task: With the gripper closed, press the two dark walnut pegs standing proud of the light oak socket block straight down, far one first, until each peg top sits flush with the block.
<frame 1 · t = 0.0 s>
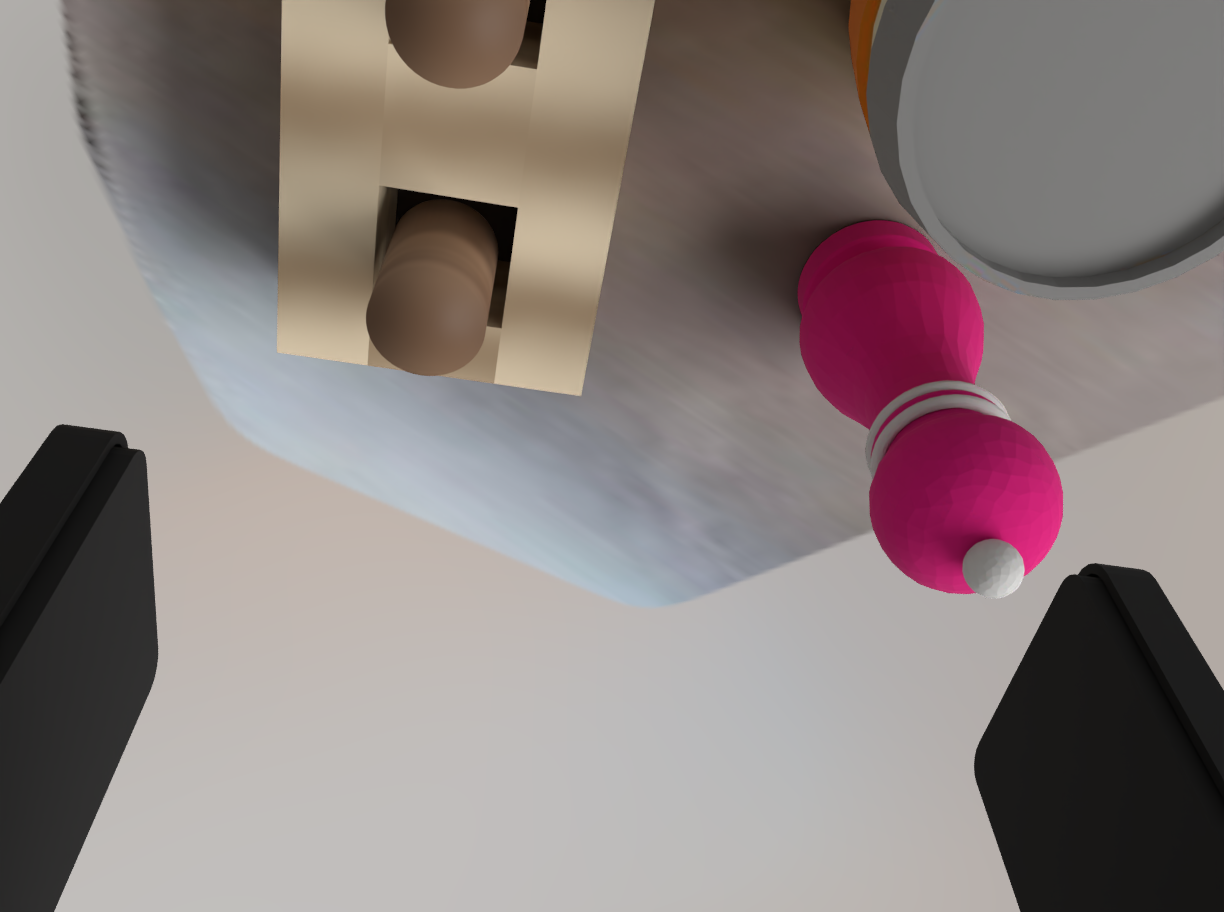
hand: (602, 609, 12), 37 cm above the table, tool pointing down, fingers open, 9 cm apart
pepper mill: (867, 283, 51), on the table
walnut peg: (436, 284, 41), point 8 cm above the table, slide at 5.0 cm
oak socket block: (471, 78, 45), on the table
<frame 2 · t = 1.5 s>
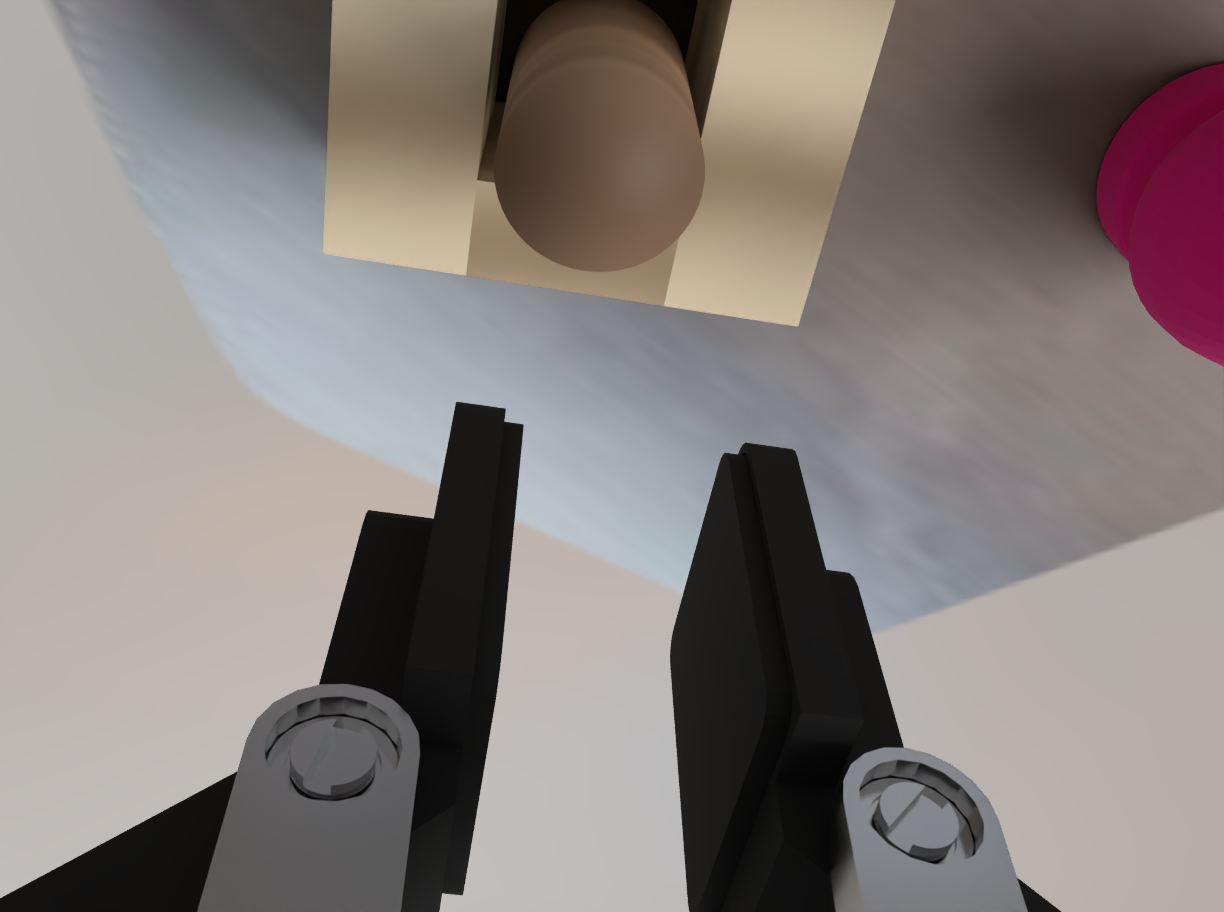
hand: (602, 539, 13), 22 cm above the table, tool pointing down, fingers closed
pepper mill: (1201, 166, 34), on the table
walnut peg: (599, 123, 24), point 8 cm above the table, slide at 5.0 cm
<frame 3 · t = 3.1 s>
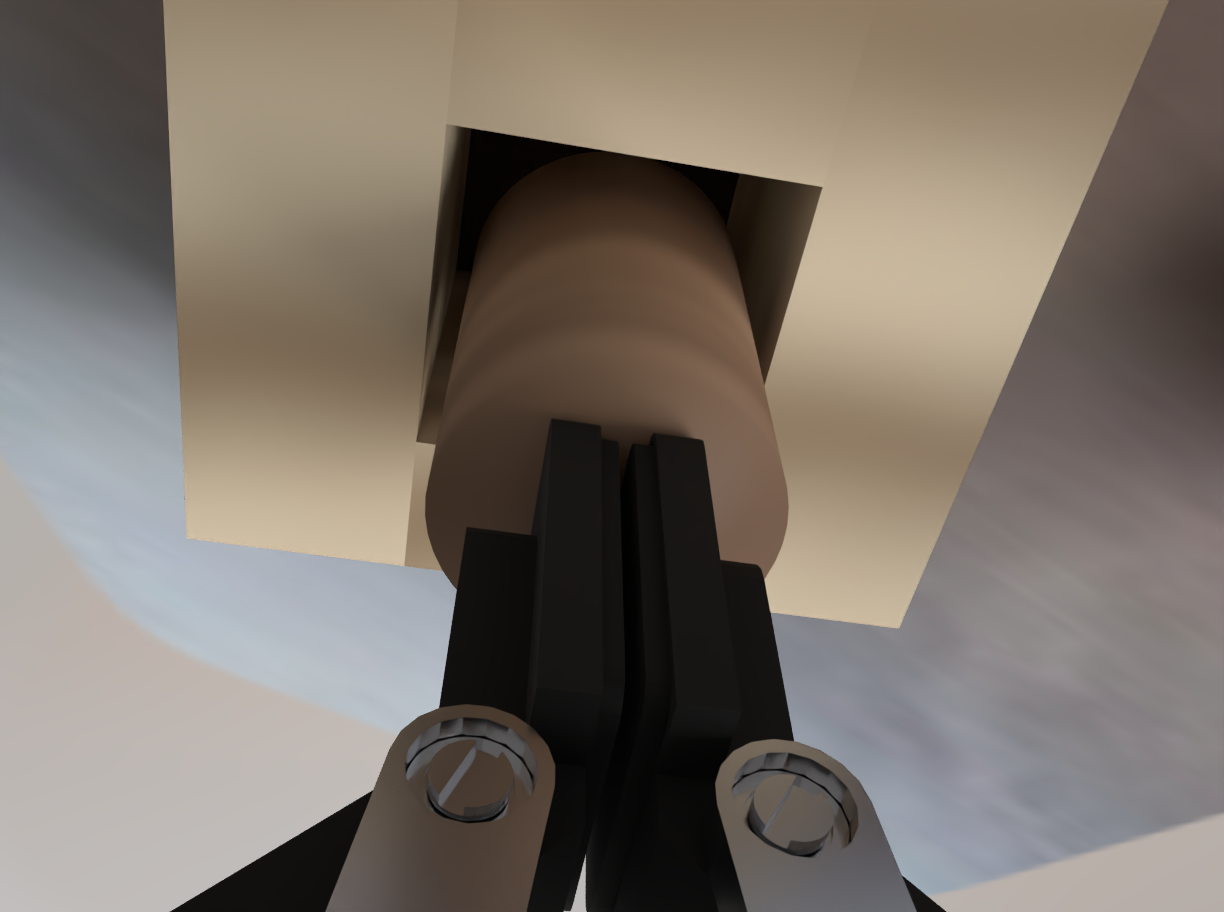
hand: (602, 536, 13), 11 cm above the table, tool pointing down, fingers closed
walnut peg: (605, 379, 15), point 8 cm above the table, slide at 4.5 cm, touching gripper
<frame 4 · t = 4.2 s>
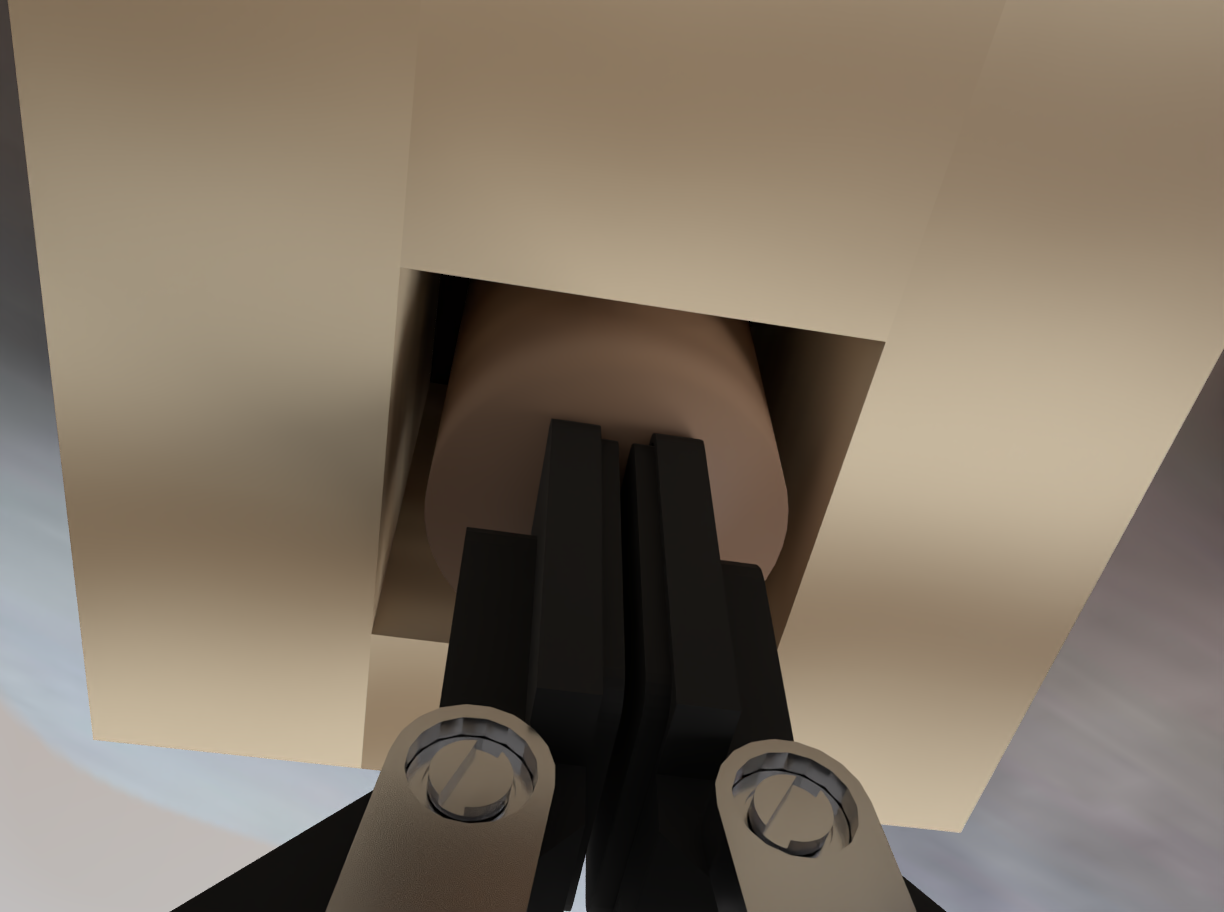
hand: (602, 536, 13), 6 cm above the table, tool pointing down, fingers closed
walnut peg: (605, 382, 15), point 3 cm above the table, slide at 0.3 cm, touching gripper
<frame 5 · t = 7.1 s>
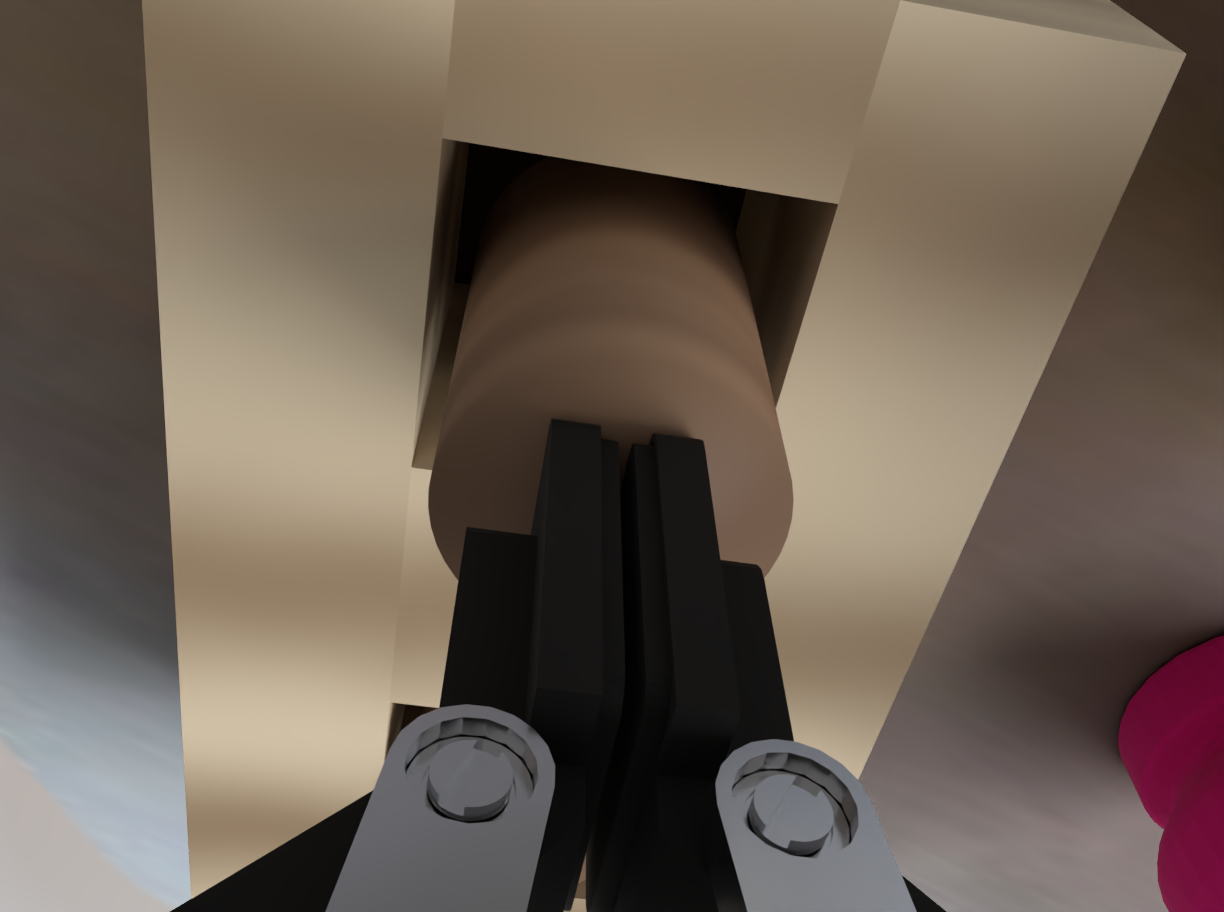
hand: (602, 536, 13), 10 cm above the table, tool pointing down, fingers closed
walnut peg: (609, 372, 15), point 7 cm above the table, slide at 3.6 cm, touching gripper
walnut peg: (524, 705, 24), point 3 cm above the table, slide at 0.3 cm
oak socket block: (565, 410, 23), on the table
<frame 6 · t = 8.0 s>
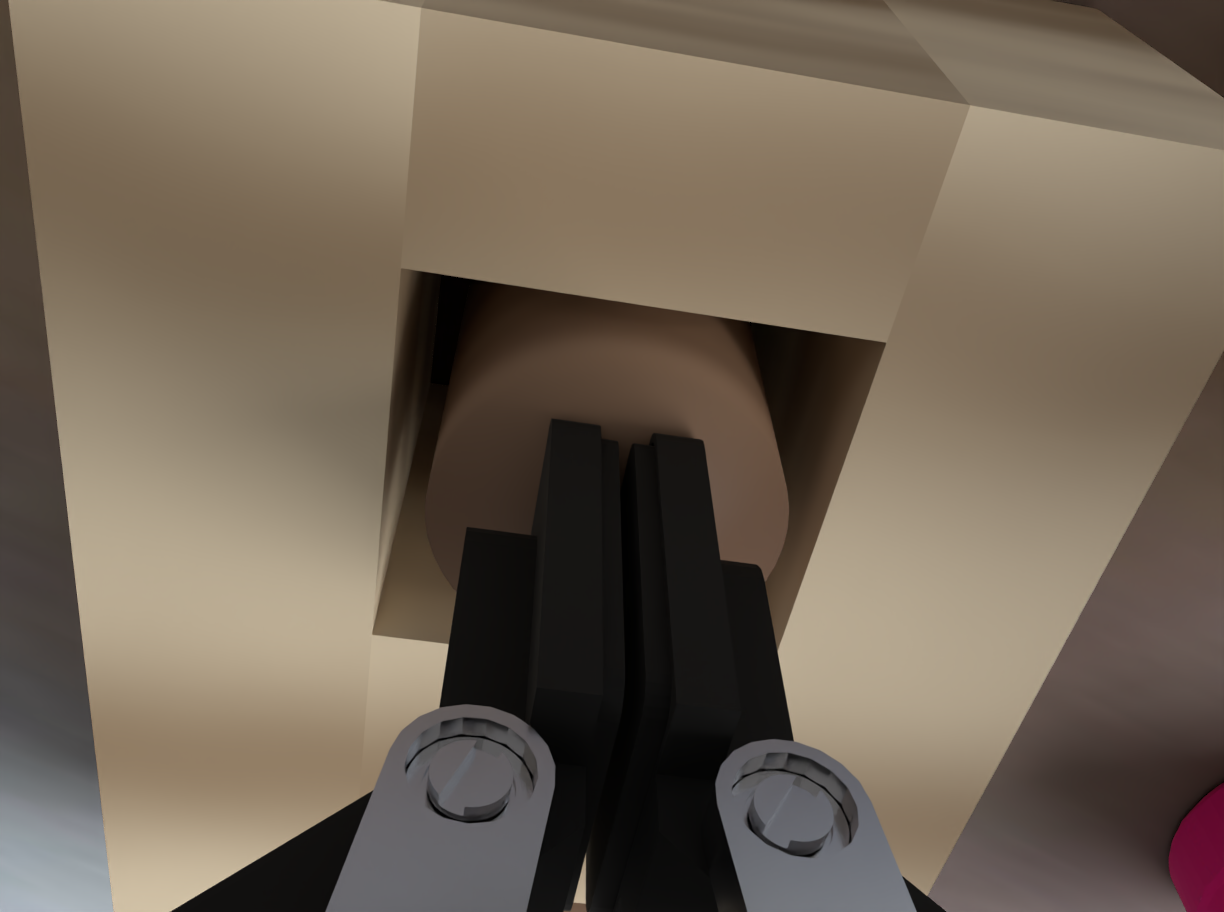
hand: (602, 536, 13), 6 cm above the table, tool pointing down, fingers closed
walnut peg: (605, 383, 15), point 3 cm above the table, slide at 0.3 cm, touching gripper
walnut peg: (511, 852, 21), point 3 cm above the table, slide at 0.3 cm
oak socket block: (557, 520, 21), on the table
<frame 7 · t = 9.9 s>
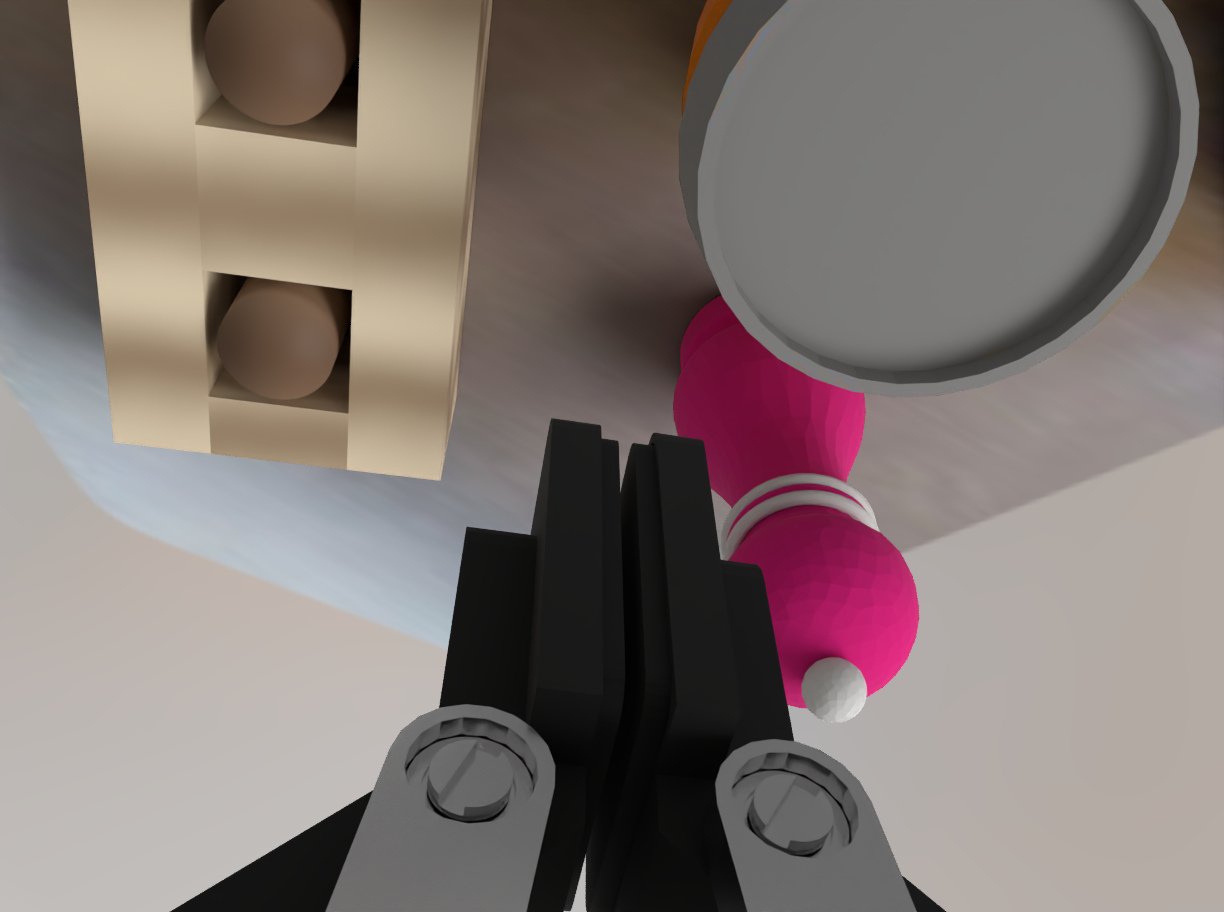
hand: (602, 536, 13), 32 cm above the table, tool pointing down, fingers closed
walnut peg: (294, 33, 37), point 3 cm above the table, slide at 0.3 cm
pepper mill: (754, 349, 48), on the table
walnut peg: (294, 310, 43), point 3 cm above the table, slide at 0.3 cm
oak socket block: (314, 148, 43), on the table
reusable coffee cup: (836, 27, 41), on the table
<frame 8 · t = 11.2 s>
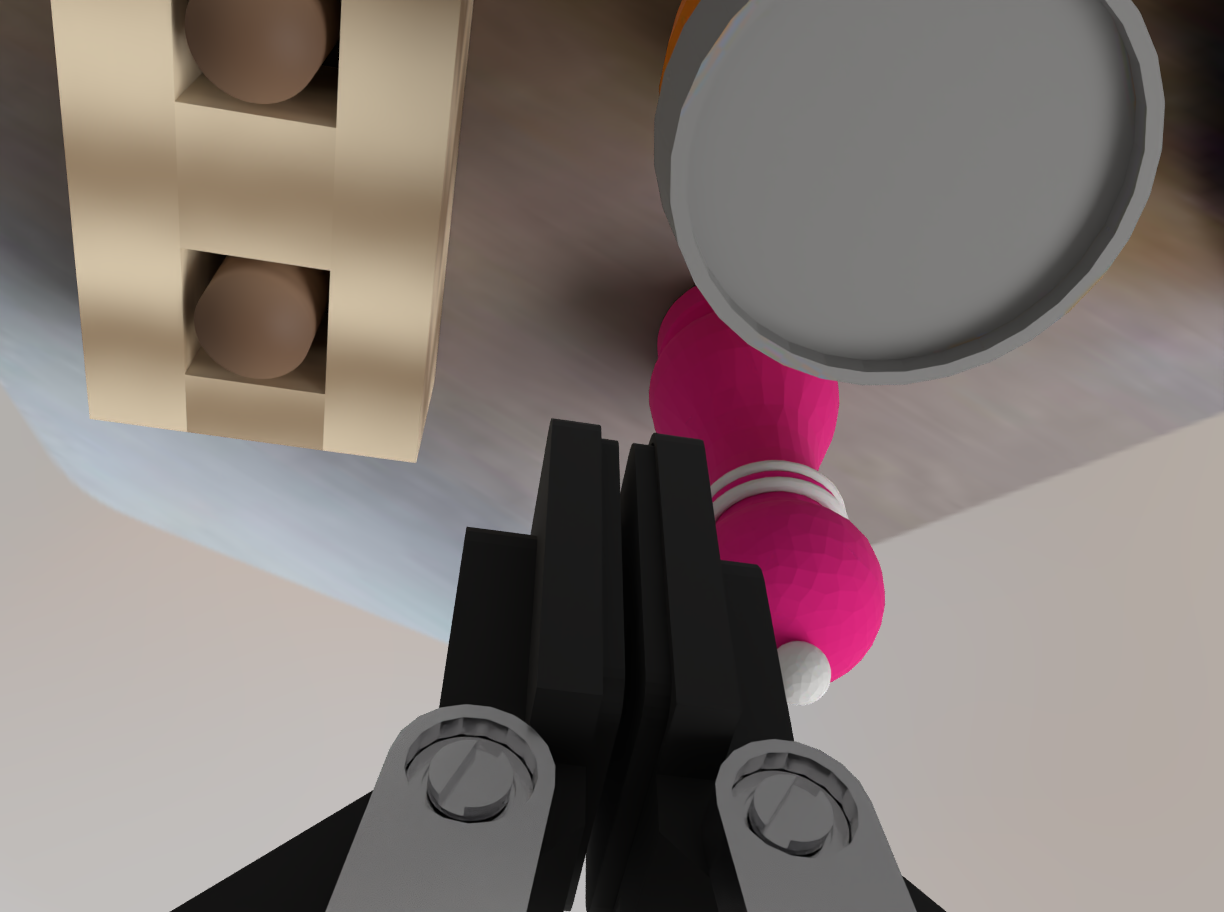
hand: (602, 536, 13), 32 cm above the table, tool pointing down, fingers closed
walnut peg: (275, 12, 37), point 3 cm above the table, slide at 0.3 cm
pepper mill: (731, 339, 48), on the table
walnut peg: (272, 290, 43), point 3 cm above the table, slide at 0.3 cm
oak socket block: (295, 128, 43), on the table
reusable coffee cup: (816, 19, 41), on the table
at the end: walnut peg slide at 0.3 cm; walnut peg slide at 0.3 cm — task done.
